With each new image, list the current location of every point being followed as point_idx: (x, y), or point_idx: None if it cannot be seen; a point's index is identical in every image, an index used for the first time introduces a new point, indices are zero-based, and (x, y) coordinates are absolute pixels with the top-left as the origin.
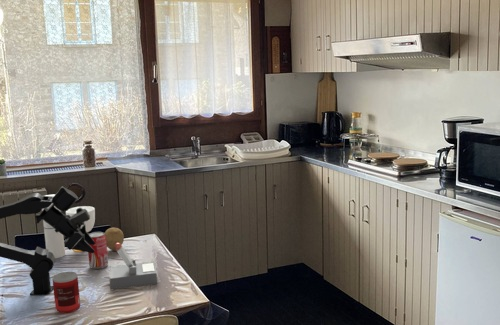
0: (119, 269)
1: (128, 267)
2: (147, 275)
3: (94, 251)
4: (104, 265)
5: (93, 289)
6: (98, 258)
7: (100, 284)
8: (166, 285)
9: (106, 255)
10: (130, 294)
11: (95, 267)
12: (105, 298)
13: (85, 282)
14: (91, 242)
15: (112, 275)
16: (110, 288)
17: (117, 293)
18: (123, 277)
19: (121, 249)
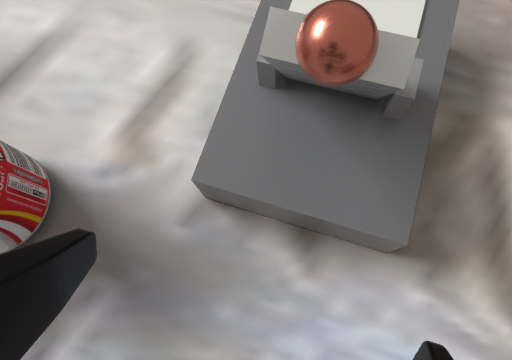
0: (279, 145)
1: (376, 98)
2: (447, 45)
3: (442, 350)
4: (47, 182)
5: (327, 337)
6: (8, 200)
7: (275, 278)
8: (476, 15)
9: (2, 143)
10: (509, 184)
11: (33, 233)
12: (502, 317)
13: (189, 346)
14: (63, 279)
15: (359, 212)
16: (387, 252)
17: (460, 237)
18: (422, 163)
19: (417, 41)
